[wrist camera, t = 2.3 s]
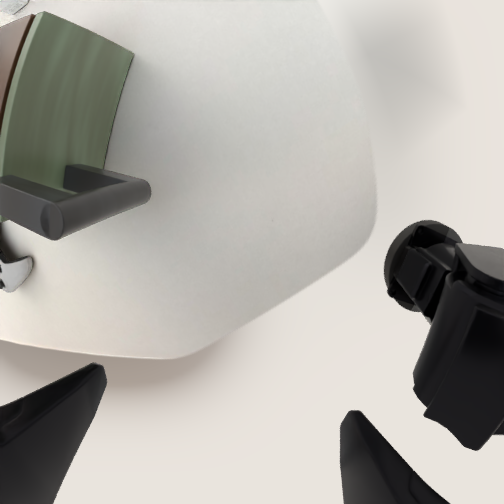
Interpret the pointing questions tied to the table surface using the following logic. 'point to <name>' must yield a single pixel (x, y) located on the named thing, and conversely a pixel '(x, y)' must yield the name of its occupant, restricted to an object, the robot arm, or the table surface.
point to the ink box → (12, 5)
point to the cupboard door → (63, 132)
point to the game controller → (13, 272)
